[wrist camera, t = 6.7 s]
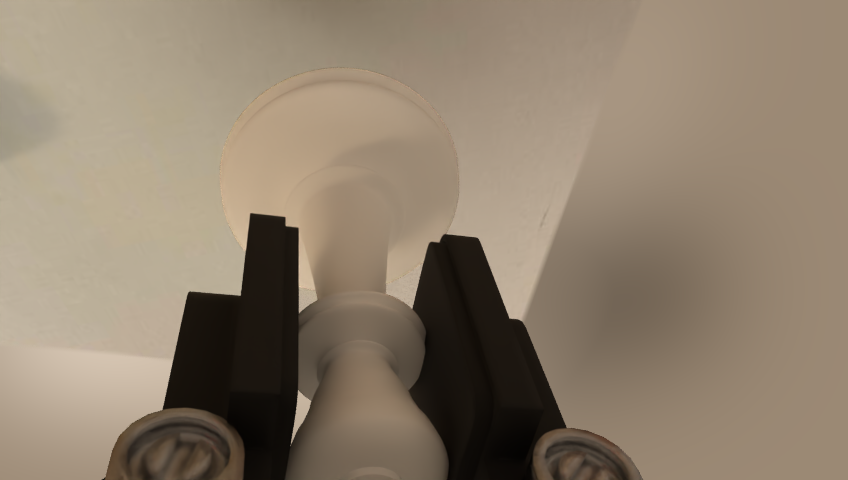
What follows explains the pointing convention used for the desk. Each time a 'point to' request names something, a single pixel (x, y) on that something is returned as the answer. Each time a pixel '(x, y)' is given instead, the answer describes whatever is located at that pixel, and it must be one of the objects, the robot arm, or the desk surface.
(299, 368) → the chess piece
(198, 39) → the desk surface
